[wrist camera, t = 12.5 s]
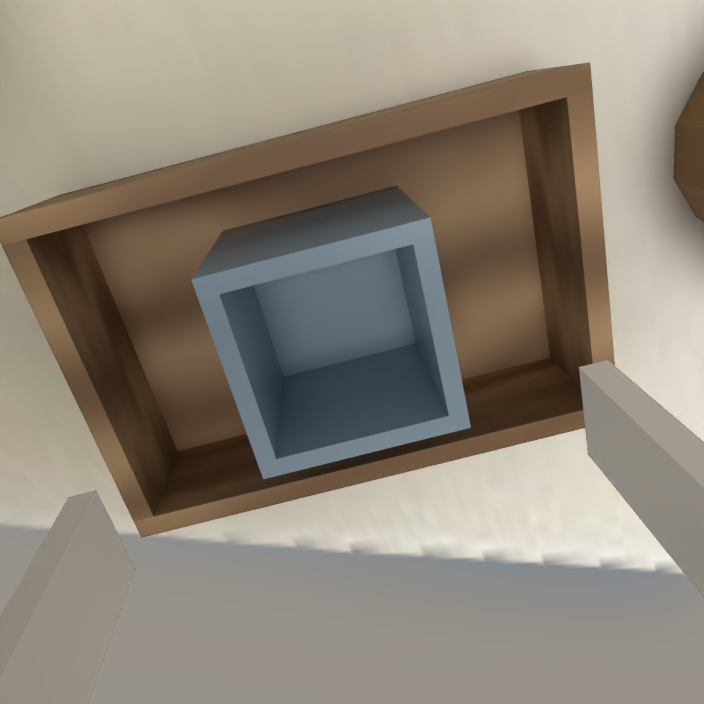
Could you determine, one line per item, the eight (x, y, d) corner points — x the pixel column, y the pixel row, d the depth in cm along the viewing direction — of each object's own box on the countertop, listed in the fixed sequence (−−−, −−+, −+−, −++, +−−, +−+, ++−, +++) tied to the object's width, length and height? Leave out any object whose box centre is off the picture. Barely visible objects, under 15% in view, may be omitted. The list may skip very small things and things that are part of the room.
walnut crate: (57, 195, 30) (-10, 221, 24) (528, 71, 30) (590, 62, 23) (170, 460, 37) (141, 537, 30) (562, 362, 36) (619, 419, 29)
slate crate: (222, 231, 31) (191, 279, 22) (396, 185, 30) (430, 217, 22) (273, 387, 34) (263, 479, 26) (430, 347, 34) (470, 427, 25)
